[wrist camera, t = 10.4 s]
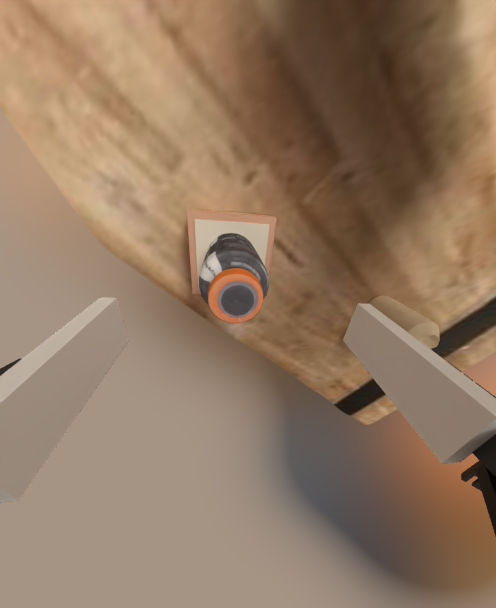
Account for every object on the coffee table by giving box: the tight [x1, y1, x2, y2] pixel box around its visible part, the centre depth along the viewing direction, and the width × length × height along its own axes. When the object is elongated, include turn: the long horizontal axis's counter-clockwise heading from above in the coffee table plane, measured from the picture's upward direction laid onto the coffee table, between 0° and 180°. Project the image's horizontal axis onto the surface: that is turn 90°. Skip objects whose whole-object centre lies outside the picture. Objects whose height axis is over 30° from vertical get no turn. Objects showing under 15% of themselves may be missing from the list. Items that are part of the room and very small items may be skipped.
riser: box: [187, 209, 277, 295], centre depth 25 cm, size 10×10×4 cm
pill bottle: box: [199, 233, 269, 323], centre depth 18 cm, size 6×6×11 cm
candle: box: [368, 295, 440, 349], centre depth 30 cm, size 6×6×10 cm
